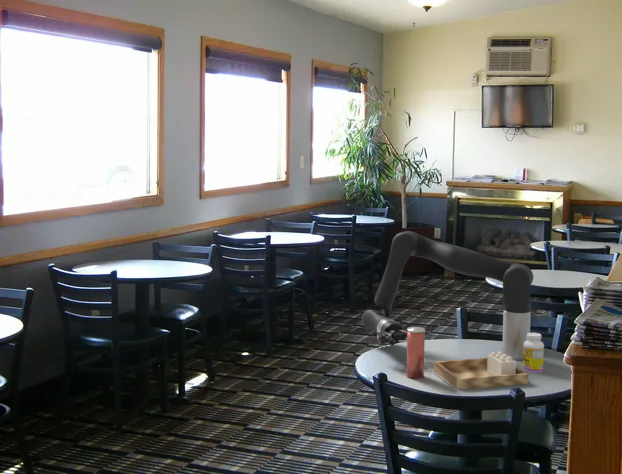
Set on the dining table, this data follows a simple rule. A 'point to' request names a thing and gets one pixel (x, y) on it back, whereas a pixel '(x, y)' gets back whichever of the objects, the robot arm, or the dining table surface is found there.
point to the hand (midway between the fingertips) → (405, 342)
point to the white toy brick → (500, 364)
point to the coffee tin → (415, 352)
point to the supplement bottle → (533, 353)
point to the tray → (475, 374)
